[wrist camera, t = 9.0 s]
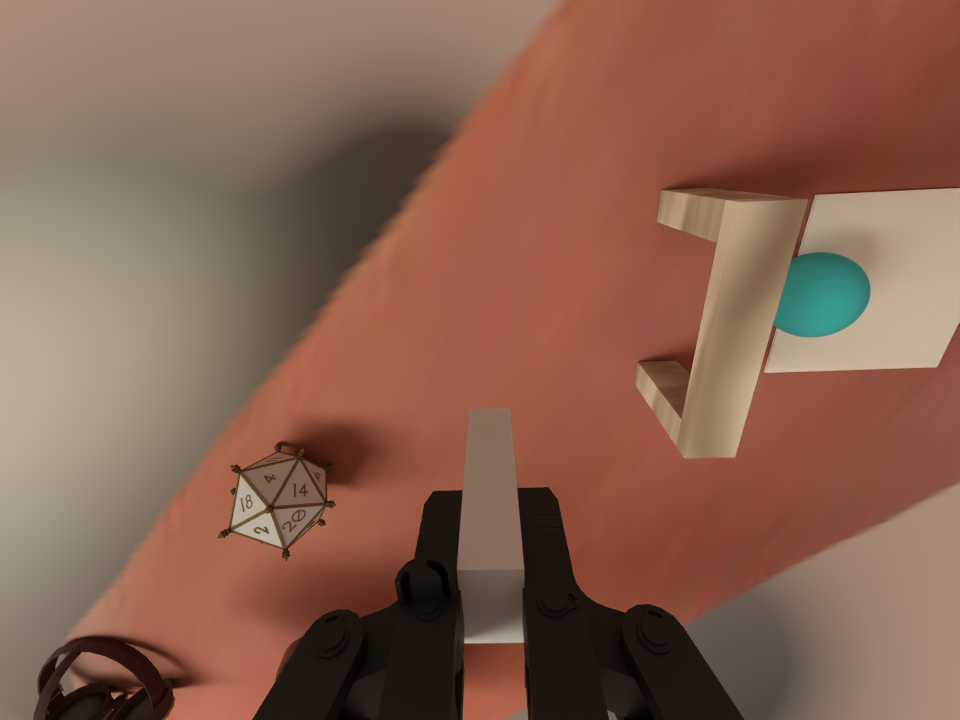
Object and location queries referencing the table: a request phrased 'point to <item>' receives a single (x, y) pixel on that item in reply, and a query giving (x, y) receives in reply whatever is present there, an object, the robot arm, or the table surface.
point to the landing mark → (885, 280)
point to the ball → (821, 295)
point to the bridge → (724, 314)
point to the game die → (278, 499)
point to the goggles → (103, 687)
